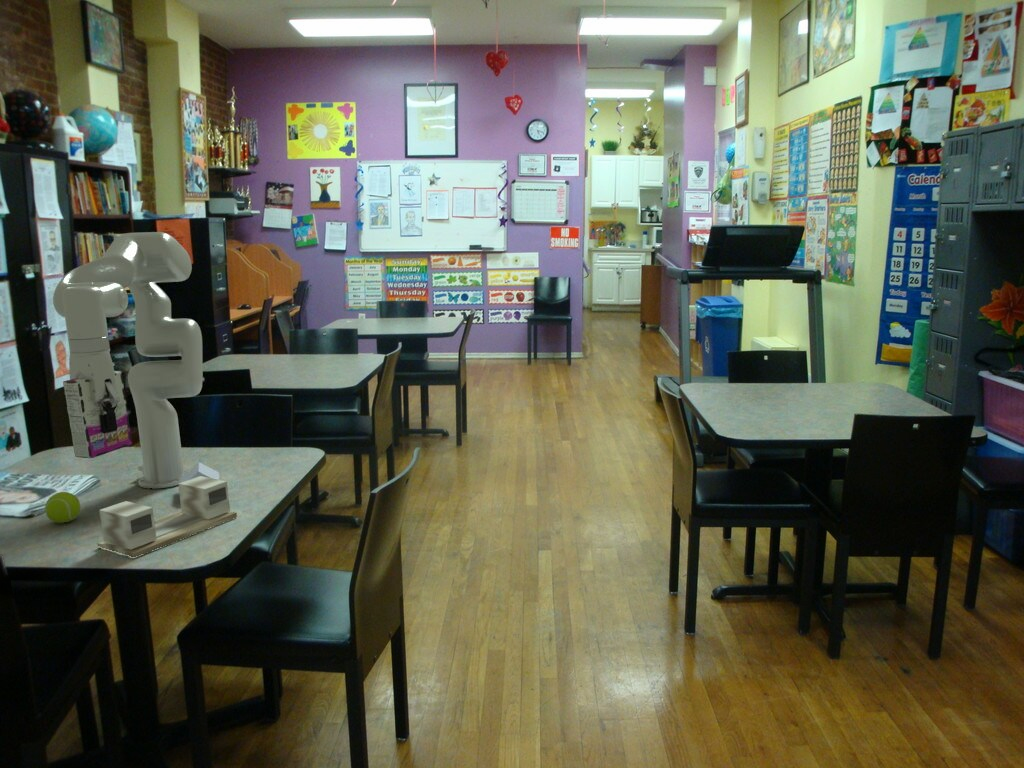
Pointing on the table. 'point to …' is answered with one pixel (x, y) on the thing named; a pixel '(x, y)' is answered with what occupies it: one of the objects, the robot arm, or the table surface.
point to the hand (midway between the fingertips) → (100, 429)
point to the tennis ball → (62, 507)
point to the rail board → (139, 534)
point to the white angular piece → (200, 472)
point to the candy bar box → (94, 420)
